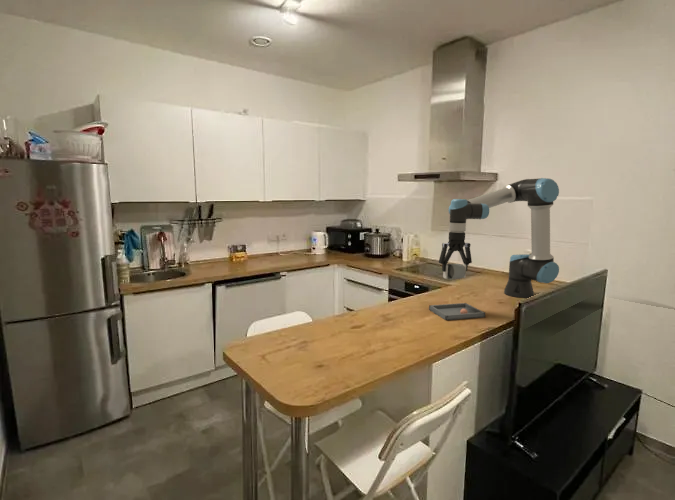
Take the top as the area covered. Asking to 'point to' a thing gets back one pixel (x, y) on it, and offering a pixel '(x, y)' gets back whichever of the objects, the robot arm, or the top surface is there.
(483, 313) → the tray
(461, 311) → the ball
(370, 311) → the top surface
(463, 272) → the ceramic mug
